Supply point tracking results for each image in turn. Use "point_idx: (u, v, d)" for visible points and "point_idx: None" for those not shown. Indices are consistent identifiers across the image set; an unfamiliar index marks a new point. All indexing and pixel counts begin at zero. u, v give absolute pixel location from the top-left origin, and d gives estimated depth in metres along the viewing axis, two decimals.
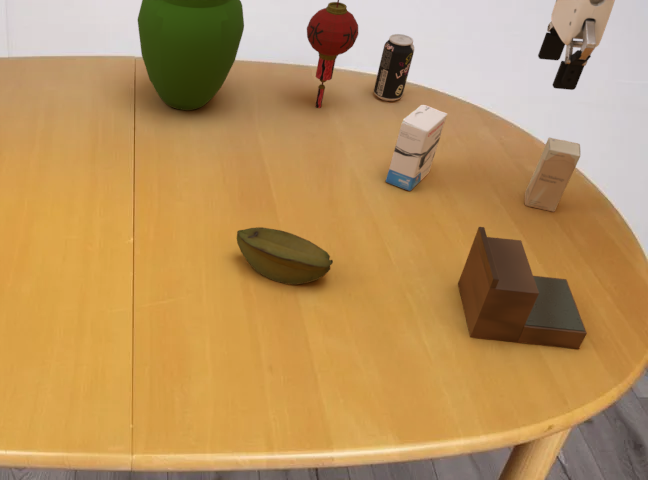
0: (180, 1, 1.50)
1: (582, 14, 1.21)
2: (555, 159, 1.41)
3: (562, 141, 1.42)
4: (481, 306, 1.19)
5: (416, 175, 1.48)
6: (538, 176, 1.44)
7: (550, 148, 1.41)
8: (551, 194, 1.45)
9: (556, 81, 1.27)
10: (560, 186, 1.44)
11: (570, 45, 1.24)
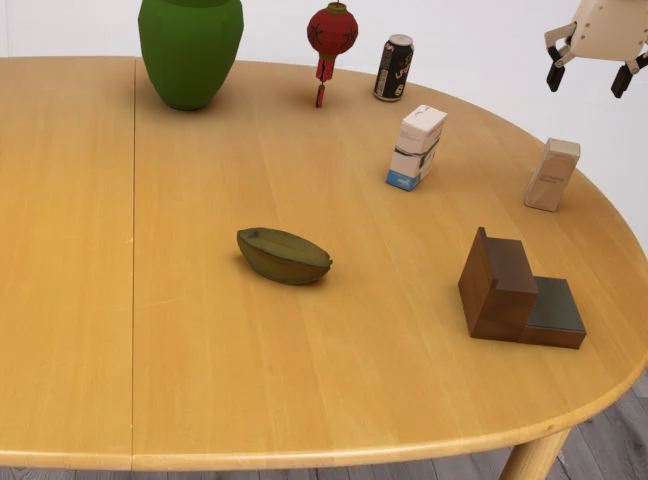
0: (180, 1, 1.50)
1: None
2: (555, 159, 1.41)
3: (562, 141, 1.42)
4: (481, 306, 1.19)
5: (416, 175, 1.48)
6: (538, 176, 1.44)
7: (550, 148, 1.41)
8: (551, 194, 1.45)
9: (622, 92, 1.33)
10: (560, 186, 1.44)
11: (634, 58, 1.30)
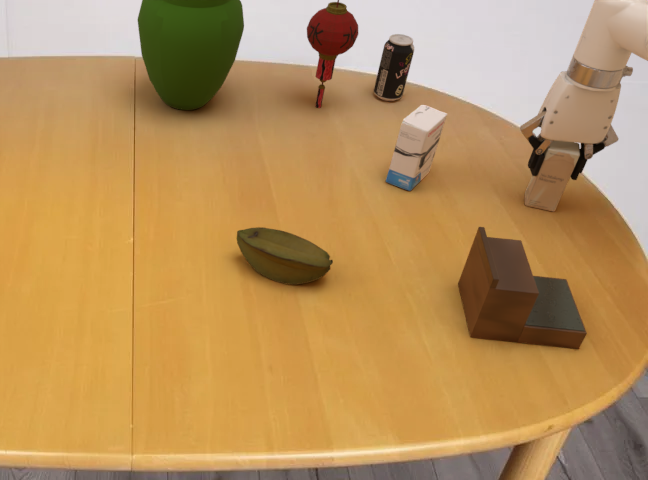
0: (180, 1, 1.50)
1: None
2: (555, 159, 1.41)
3: (561, 141, 1.43)
4: (481, 306, 1.19)
5: (416, 175, 1.48)
6: (538, 176, 1.44)
7: (549, 148, 1.41)
8: (551, 194, 1.45)
9: (578, 174, 1.43)
10: (560, 186, 1.44)
11: (592, 145, 1.39)
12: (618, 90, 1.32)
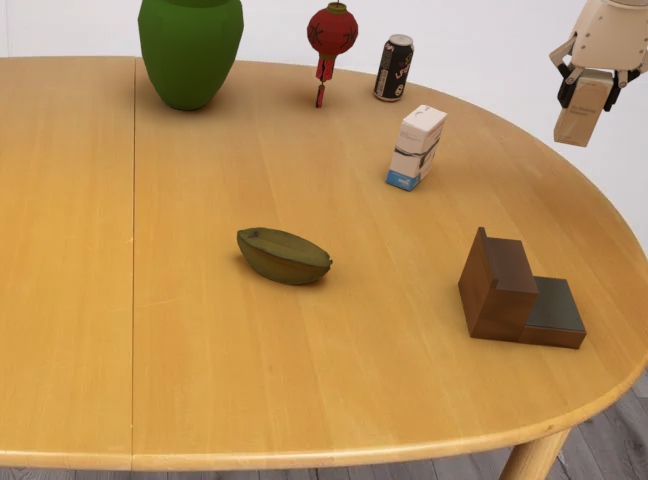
0: (180, 1, 1.50)
1: None
2: (586, 88, 1.33)
3: (593, 70, 1.34)
4: (481, 306, 1.19)
5: (416, 175, 1.48)
6: (568, 108, 1.35)
7: (580, 77, 1.32)
8: (582, 128, 1.36)
9: (611, 106, 1.34)
10: (592, 119, 1.35)
11: (626, 72, 1.31)
12: None
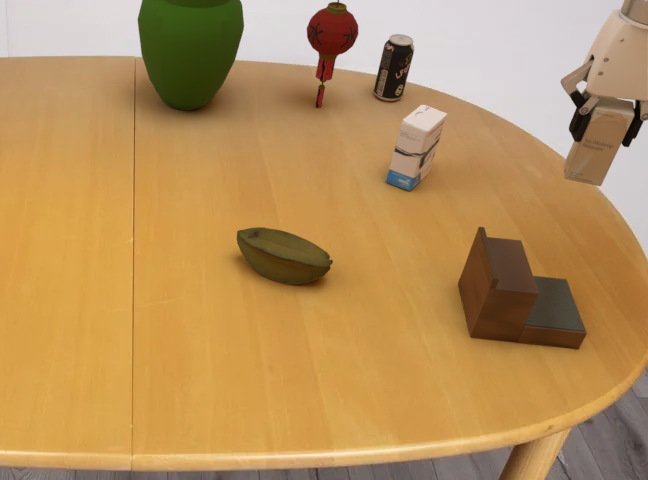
0: (180, 1, 1.50)
1: None
2: (603, 120, 1.15)
3: (611, 99, 1.16)
4: (481, 306, 1.19)
5: (416, 175, 1.48)
6: (581, 142, 1.18)
7: (596, 106, 1.14)
8: (597, 165, 1.19)
9: None
10: (609, 154, 1.17)
11: None
12: None
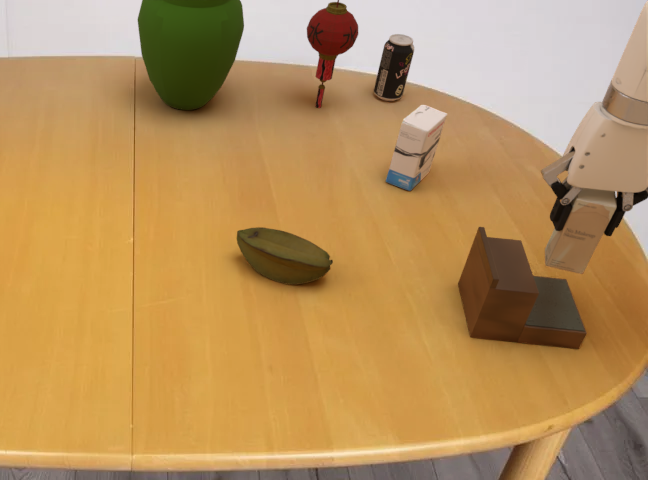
0: (180, 1, 1.50)
1: None
2: (584, 211, 1.12)
3: None
4: (481, 306, 1.19)
5: (416, 175, 1.48)
6: (562, 231, 1.15)
7: (578, 197, 1.11)
8: (579, 253, 1.16)
9: None
10: (591, 244, 1.14)
11: (632, 194, 1.10)
12: None
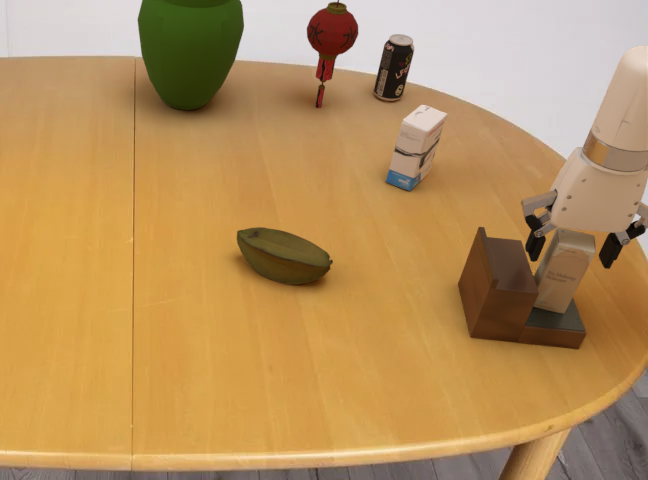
0: (180, 1, 1.50)
1: None
2: (565, 255, 1.17)
3: (573, 232, 1.18)
4: (481, 306, 1.19)
5: (416, 175, 1.48)
6: (544, 273, 1.19)
7: (559, 242, 1.16)
8: (560, 295, 1.21)
9: (611, 263, 1.17)
10: (571, 286, 1.19)
11: None
12: (647, 172, 1.07)
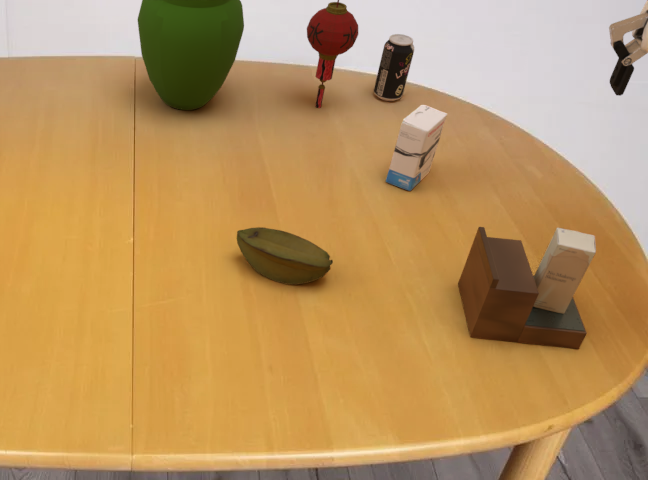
0: (180, 1, 1.50)
1: None
2: (565, 255, 1.17)
3: (573, 232, 1.18)
4: (481, 306, 1.19)
5: (416, 175, 1.48)
6: (544, 273, 1.19)
7: (559, 242, 1.16)
8: (560, 295, 1.21)
9: None
10: (571, 286, 1.19)
11: None
12: None
